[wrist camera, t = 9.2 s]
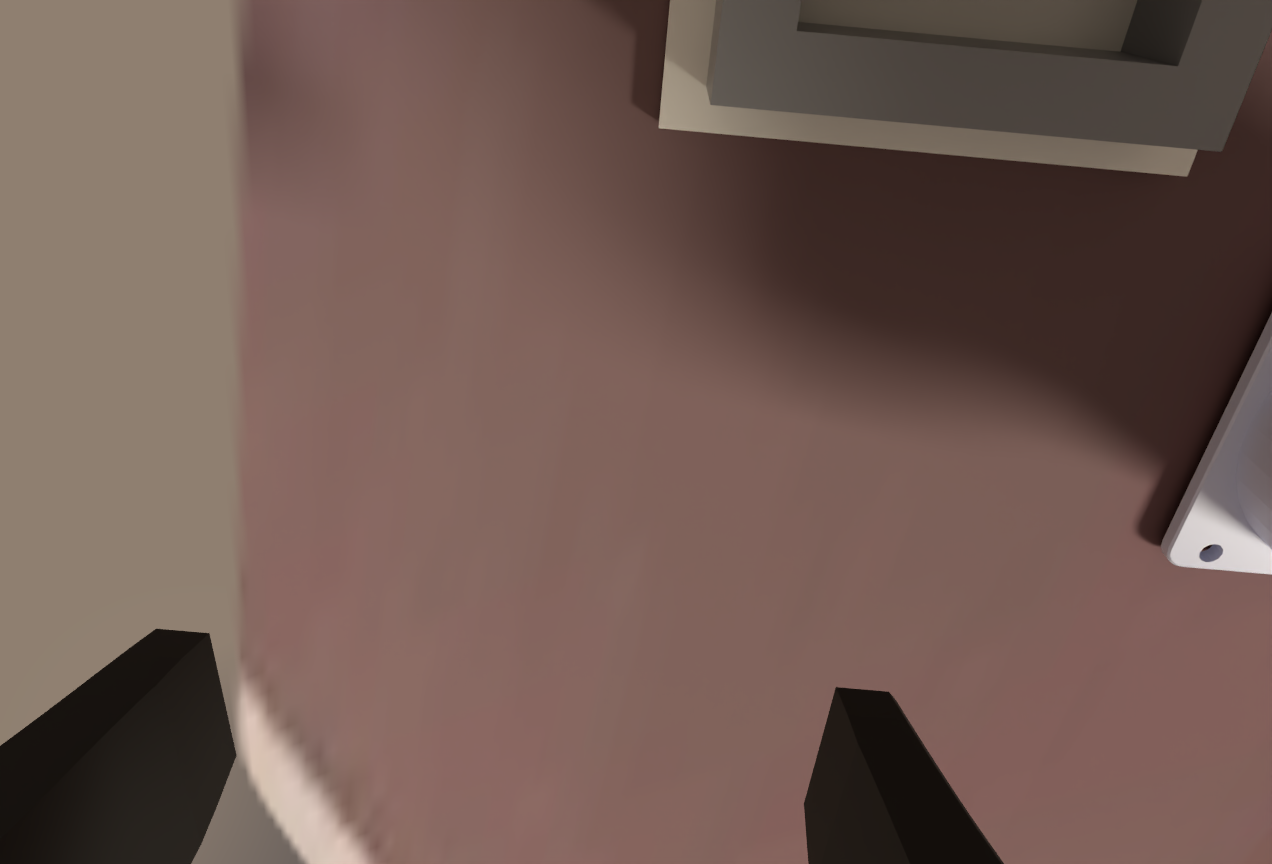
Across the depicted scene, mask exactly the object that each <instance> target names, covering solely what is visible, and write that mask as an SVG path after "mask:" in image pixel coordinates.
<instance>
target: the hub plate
mask: <svg viewBox="0 0 1272 864" xmlns="http://www.w3.org/2000/svg"><path fill="white" fill-rule="evenodd" d="M1271 31H1272V0H670V6H669V17H668V28H667V39H666V50H665V61H664V72H663V84H662V95H661V106H660V117H659V128H662V129H673V130H684V131H694V132H705V133H716V134H727V135H738V136H749V137H760V138H771V139H782V140H793V141H804V142H815V143H826V144H836V145H847V146H858V147H869V148H880V149H891V150H902V151H913V152H924V153H935V154H946V155H957V156H967V157H978V158H989V159H1000V160H1011V161H1022V162H1033V163H1044V164H1055V165H1066V166H1077V167H1088V168H1099V169H1109V170H1120V171H1131V172H1142V173H1153V174H1164V175H1175V176H1186V177H1187V176H1188V174H1189V171H1190V169H1191V166H1192V163H1193V161H1194V158H1195V156H1196V153H1197V151H1198V150H1206V151H1217V152H1222V150H1223V148H1224V146H1225V143H1226V141H1227V138H1228V136H1229V133H1230V131H1231V128H1232V126H1233V124H1234V121H1235V119H1236V116H1237V114H1238V111H1239V109H1240V106H1241V104H1242V102H1243V99H1244V97H1245V94H1246V92H1247V89H1248V87H1249V84H1250V82H1251V80H1252V77H1253V75H1254V72H1255V70H1256V67H1257V65H1258V62H1259V60H1260V58H1261V55H1262V53H1263V50H1264V48H1265V45H1266V43H1267V40H1268V38H1269V35H1270V33H1271Z"/></svg>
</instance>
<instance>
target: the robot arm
mask: <svg viewBox="0 0 1272 864" xmlns="http://www.w3.org/2000/svg"><path fill="white" fill-rule="evenodd" d="M1208 545H1212V546H1211V547H1210V548H1209V549H1207V550H1205V551H1201V550H1202V549H1203V548H1205V547H1206V546H1208ZM1161 549H1162V552H1163V554H1164V555H1165V556H1166V558H1167V559H1168V560H1169V561H1170V562H1171V563H1172V564H1173V565H1177V566H1181V567H1191V568H1202V569H1214V570H1225V571H1237V572H1248V573H1259V574H1271V575H1272V313H1271V315H1270V318H1269V320H1268V322H1267V324H1266V326H1265V328H1264V330H1263V332H1262V334H1261V336H1260V338H1259V340H1258V342H1257V345H1256V347H1255V349H1254V351H1253V353H1252V355H1251V357H1250V359H1249V361H1248V363H1247V365H1246V367H1245V370H1244V372H1243V374H1242V376H1241V378H1240V380H1239V382H1238V384H1237V386H1236V388H1235V390H1234V392H1233V395H1232V397H1231V399H1230V401H1229V403H1228V405H1227V407H1226V409H1225V411H1224V413H1223V415H1222V417H1221V419H1220V422H1219V424H1218V426H1217V428H1216V430H1215V432H1214V434H1213V436H1212V438H1211V440H1210V442H1209V444H1208V447H1207V449H1206V451H1205V453H1204V455H1203V457H1202V459H1201V461H1200V463H1199V465H1198V467H1197V469H1196V472H1195V474H1194V476H1193V478H1192V480H1191V482H1190V484H1189V486H1188V488H1187V490H1186V492H1185V494H1184V496H1183V499H1182V501H1181V503H1180V505H1179V507H1178V509H1177V511H1176V513H1175V515H1174V517H1173V519H1172V521H1171V524H1170V526H1169V528H1168V530H1167V532H1166V534H1165V536H1164V538H1163V540H1162V544H1161ZM235 758H236V751H235V747H234V742H233V738H232V733H231V729H230V724H229V720H228V715H227V711H226V706H225V702H224V698H223V693H222V689H221V684H220V680H219V675H218V670H217V666H216V661H215V657H214V652H213V648H212V643H211V639H210V634H209V633H199V632H187V631H175V630H163V629H155V630H154V631H153V632H151V633H150V634H148V635H147V636H146V637H144V638H143V639H142V640H140V641H139V642H137V643H136V644H135V645H134V646H132V647H131V648H129V649H128V650H127V651H125V652H124V653H123V654H121V655H120V656H119V657H118V658H116V659H115V660H113V661H112V662H111V663H110V664H108V665H107V666H106V667H104V668H103V669H102V670H100V671H99V672H98V673H96V674H95V675H94V676H92V677H91V678H90V679H89V680H87V681H86V682H85V683H83V684H82V685H81V686H79V687H78V688H77V689H76V690H74V691H73V692H72V693H70V694H69V695H68V696H66V697H65V698H64V699H62V700H61V701H60V702H58V703H57V704H56V705H54V706H53V707H52V708H50V709H49V710H48V711H47V712H45V713H44V714H43V715H41V716H40V717H39V718H37V719H36V720H34V721H33V722H32V723H30V724H29V725H28V726H26V727H25V728H24V729H23V730H21V731H20V732H18V733H17V734H16V735H14V736H13V737H12V738H10V739H9V740H8V741H7V742H5V743H4V744H2V745H1V746H0V864H191V863H192V861H193V859H194V857H195V855H196V853H197V851H198V849H199V847H200V845H201V843H202V841H203V838H204V836H205V834H206V831H207V829H208V826H209V824H210V821H211V819H212V817H213V814H214V812H215V809H216V807H217V805H218V802H219V799H220V797H221V794H222V791H223V789H224V786H225V784H226V781H227V778H228V776H229V773H230V770H231V768H232V765H233V763H234V760H235ZM804 809H805V822H806V836H807V850H808V861H809V864H1004V863H1003V862H1002V860H1001V859H1000V857H999V856H998V855H997V853H996V852H995V850H994V849H993V848H992V846H991V845H990V843H989V842H988V841H987V839H986V838H985V836H984V835H983V833H982V832H981V831H980V829H979V828H978V826H977V825H976V823H975V822H974V820H973V819H972V817H971V816H970V815H969V813H968V812H967V810H966V809H965V807H964V806H963V804H962V803H961V801H960V800H959V798H958V797H957V795H956V794H955V792H954V791H953V789H952V788H951V786H950V785H949V783H948V782H947V780H946V778H945V777H944V775H943V774H942V772H941V771H940V769H939V768H938V766H937V765H936V763H935V762H934V760H933V758H932V757H931V755H930V754H929V752H928V751H927V749H926V748H925V746H924V744H923V743H922V741H921V740H920V738H919V737H918V735H917V733H916V732H915V730H914V729H913V727H912V725H911V724H910V722H909V721H908V719H907V717H906V716H905V714H904V713H903V711H902V709H901V708H900V706H899V705H898V703H897V701H896V700H895V699H894V698H893V696H892V695H891V694H890V693H889V692H884V691H873V690H861V689H849V688H838V687H836V689H835V693H834V696H833V700H832V704H831V707H830V711H829V715H828V718H827V722H826V725H825V729H824V733H823V736H822V740H821V744H820V747H819V751H818V755H817V758H816V762H815V766H814V769H813V773H812V777H811V780H810V784H809V787H808V791H807V795H806V798H805V802H804Z"/></svg>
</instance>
